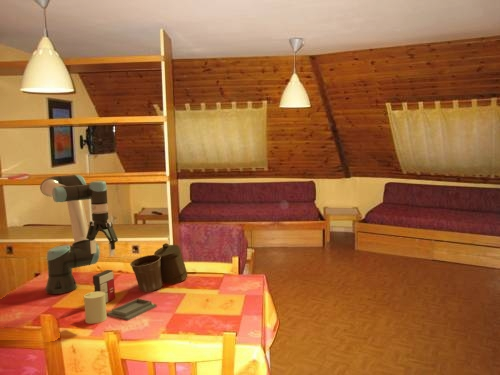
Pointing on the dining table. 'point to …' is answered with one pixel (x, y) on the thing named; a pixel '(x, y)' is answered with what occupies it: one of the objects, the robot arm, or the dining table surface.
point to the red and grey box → (105, 284)
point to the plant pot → (148, 272)
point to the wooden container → (171, 264)
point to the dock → (132, 309)
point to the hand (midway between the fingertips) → (102, 254)
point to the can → (95, 307)
